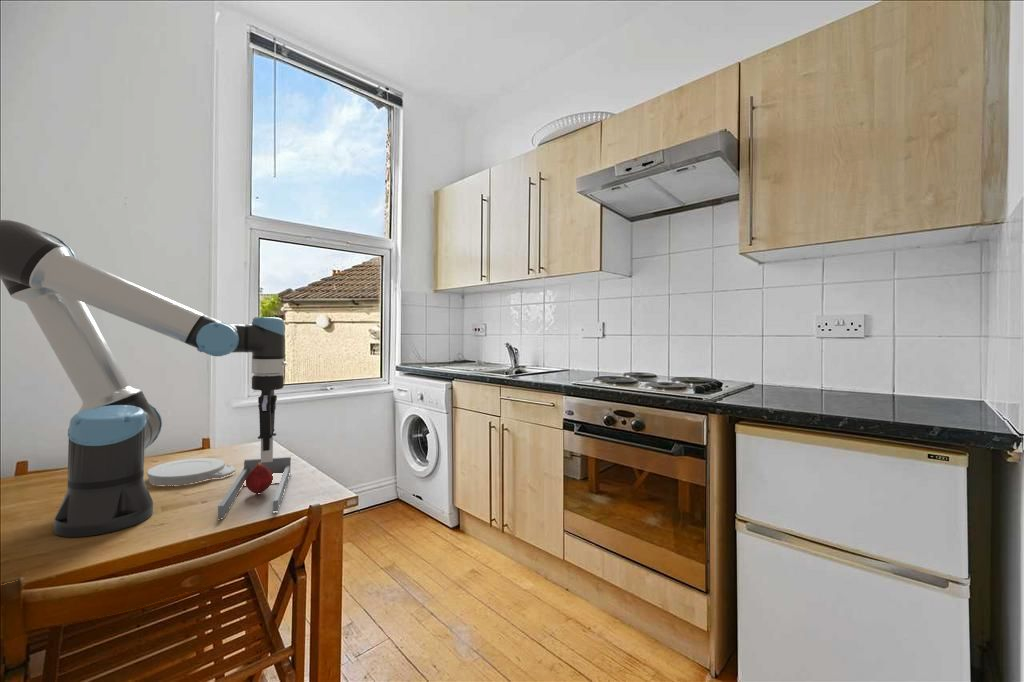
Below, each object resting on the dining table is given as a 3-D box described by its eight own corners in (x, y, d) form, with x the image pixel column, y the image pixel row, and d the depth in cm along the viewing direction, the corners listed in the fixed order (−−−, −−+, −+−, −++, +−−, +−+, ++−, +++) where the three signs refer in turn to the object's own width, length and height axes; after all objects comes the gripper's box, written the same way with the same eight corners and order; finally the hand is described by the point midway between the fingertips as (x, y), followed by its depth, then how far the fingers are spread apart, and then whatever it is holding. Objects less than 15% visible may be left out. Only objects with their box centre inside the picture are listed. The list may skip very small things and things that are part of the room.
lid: (223, 485, 113) (223, 474, 113) (131, 490, 108) (132, 478, 108) (244, 466, 130) (244, 456, 130) (165, 469, 124) (166, 459, 124)
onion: (276, 493, 108) (277, 462, 108) (253, 500, 104) (254, 467, 104) (264, 488, 112) (265, 458, 112) (240, 495, 107) (241, 463, 107)
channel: (217, 520, 92) (218, 496, 92) (244, 477, 119) (245, 459, 119) (277, 513, 97) (278, 491, 97) (290, 473, 124) (290, 456, 124)
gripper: (280, 376, 111) (279, 467, 111) (286, 372, 123) (285, 453, 124) (247, 377, 108) (246, 470, 109) (256, 372, 120) (255, 456, 121)
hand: (266, 461), depth 116 cm, fingers closed
